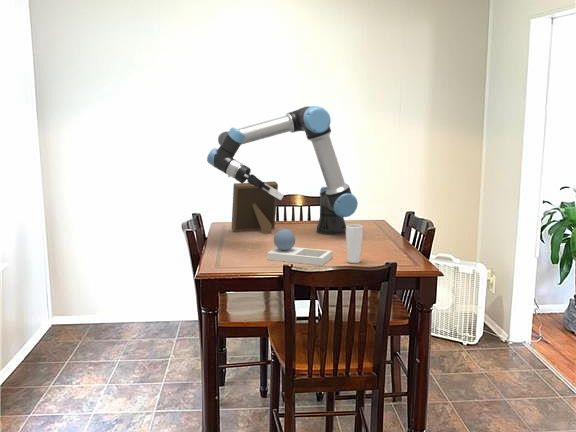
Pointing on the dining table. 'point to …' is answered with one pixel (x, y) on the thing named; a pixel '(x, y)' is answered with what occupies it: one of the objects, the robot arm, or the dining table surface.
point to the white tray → (301, 255)
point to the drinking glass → (354, 242)
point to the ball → (284, 239)
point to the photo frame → (253, 208)
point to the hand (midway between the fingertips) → (279, 195)
